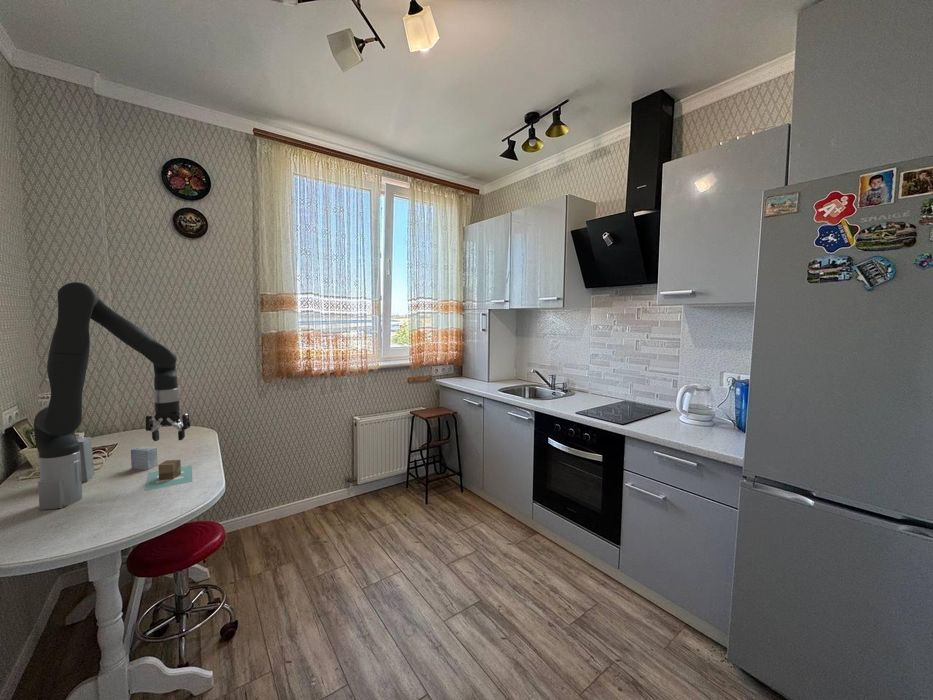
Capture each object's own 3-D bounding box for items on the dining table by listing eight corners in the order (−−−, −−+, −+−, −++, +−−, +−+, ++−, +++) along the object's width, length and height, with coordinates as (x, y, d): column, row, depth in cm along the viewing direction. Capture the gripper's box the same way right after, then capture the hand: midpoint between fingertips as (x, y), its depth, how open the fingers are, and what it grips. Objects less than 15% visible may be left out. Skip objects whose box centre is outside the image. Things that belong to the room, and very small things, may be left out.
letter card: (192, 482, 141) (192, 481, 141) (144, 492, 132) (144, 491, 132) (191, 465, 157) (191, 465, 157) (149, 473, 148) (149, 472, 148)
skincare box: (87, 482, 139) (85, 441, 138) (61, 485, 136) (58, 444, 135) (95, 473, 147) (93, 435, 146) (70, 477, 143) (68, 438, 142)
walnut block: (173, 479, 142) (172, 464, 142) (158, 479, 141) (158, 465, 141) (180, 474, 147) (180, 459, 147) (167, 474, 146) (166, 460, 146)
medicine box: (158, 466, 155) (157, 447, 154) (148, 471, 151) (147, 450, 150) (141, 465, 156) (140, 446, 155) (131, 469, 151) (130, 449, 151)
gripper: (139, 402, 137) (141, 444, 138) (181, 401, 140) (183, 442, 141) (152, 398, 144) (154, 438, 146) (192, 397, 147) (194, 436, 148)
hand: (168, 440), depth 143 cm, fingers open, 8 cm apart
